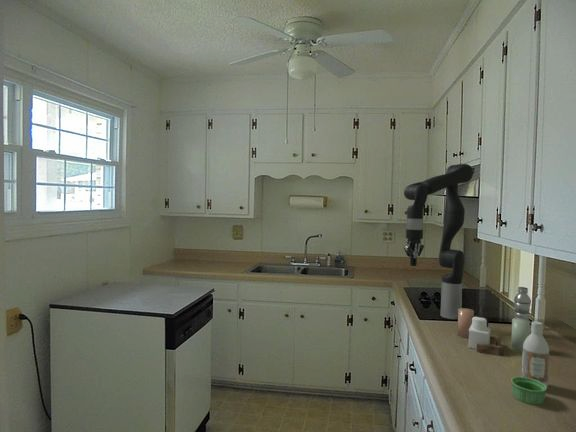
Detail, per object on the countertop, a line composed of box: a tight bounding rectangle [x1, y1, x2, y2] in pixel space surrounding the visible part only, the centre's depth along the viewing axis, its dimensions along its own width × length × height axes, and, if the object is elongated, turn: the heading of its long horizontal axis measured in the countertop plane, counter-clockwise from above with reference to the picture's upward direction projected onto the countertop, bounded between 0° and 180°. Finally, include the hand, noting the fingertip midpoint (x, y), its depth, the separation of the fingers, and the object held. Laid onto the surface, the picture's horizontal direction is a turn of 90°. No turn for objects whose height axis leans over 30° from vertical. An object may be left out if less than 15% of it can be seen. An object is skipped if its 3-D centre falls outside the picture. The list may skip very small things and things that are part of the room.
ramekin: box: [510, 376, 548, 406], centre depth 115 cm, size 9×9×4 cm
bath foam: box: [521, 320, 550, 388], centre depth 123 cm, size 7×7×20 cm
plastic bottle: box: [513, 286, 532, 321], centre depth 171 cm, size 6×7×20 cm
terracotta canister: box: [456, 307, 475, 339], centre depth 167 cm, size 6×6×11 cm
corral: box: [476, 334, 504, 357], centre depth 154 cm, size 9×13×3 cm, turn 158°
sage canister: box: [510, 317, 531, 352], centre depth 154 cm, size 6×6×11 cm
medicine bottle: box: [467, 314, 491, 350], centre depth 155 cm, size 7×7×12 cm
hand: (413, 265), depth 181 cm, fingers closed
